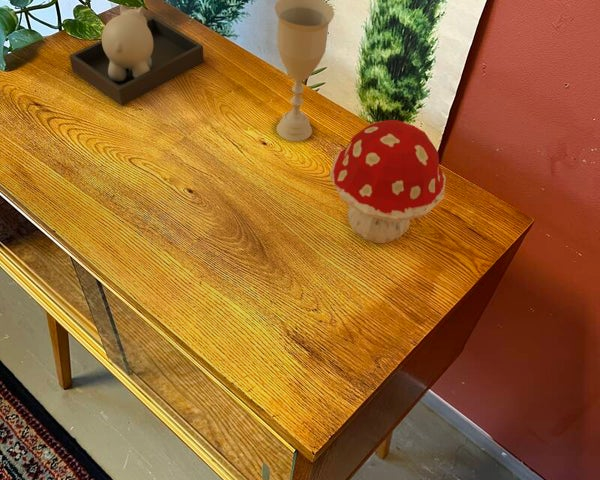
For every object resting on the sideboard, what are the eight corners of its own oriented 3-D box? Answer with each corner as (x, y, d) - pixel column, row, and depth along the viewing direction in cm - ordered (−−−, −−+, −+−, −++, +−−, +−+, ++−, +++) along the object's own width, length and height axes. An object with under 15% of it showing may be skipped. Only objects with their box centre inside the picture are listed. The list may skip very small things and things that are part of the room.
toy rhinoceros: (164, 42, 105) (159, -10, 98) (152, 88, 98) (146, 35, 91) (118, 38, 104) (110, -15, 98) (102, 84, 97) (92, 30, 90)
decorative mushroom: (317, 187, 88) (330, 91, 76) (419, 187, 90) (447, 93, 78) (327, 267, 80) (344, 174, 68) (440, 267, 82) (475, 175, 70)
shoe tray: (121, 105, 95) (119, 89, 93) (72, 71, 99) (68, 55, 97) (203, 61, 103) (203, 45, 101) (155, 31, 107) (153, 15, 105)
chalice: (262, 137, 94) (267, 17, 79) (277, 109, 98) (284, -10, 83) (312, 150, 93) (325, 31, 78) (325, 121, 97) (340, 3, 82)
